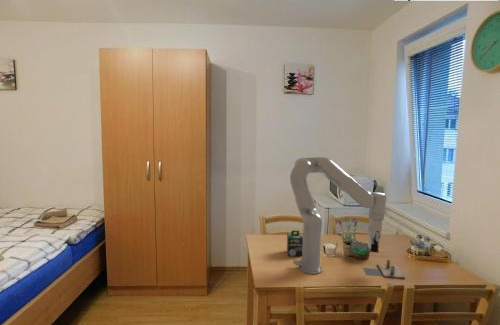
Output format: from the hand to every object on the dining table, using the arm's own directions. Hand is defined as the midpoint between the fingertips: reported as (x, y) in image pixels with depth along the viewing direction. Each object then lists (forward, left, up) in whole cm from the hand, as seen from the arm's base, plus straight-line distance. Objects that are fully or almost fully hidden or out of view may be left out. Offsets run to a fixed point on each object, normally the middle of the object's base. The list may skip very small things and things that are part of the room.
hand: (373, 249), depth 164 cm
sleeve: (0, 0, -1) cm, 1 cm away
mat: (+1, 0, -13) cm, 13 cm away
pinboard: (+10, +2, -13) cm, 16 cm away
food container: (-3, +19, -13) cm, 23 cm away
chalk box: (-41, +18, -13) cm, 47 cm away
